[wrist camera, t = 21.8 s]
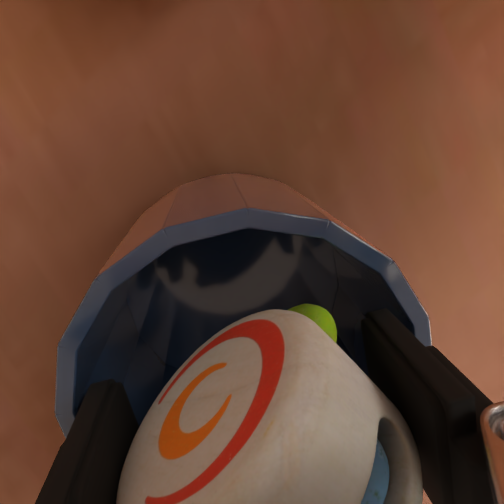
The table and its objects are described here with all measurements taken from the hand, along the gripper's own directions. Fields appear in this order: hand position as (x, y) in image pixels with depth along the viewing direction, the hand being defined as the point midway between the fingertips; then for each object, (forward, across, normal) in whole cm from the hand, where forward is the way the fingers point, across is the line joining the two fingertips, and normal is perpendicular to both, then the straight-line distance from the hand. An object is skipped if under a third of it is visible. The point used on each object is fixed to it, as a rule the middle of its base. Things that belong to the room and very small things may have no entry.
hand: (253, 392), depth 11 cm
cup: (+8, 0, 0) cm, 8 cm away
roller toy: (+1, 0, 0) cm, 1 cm away
